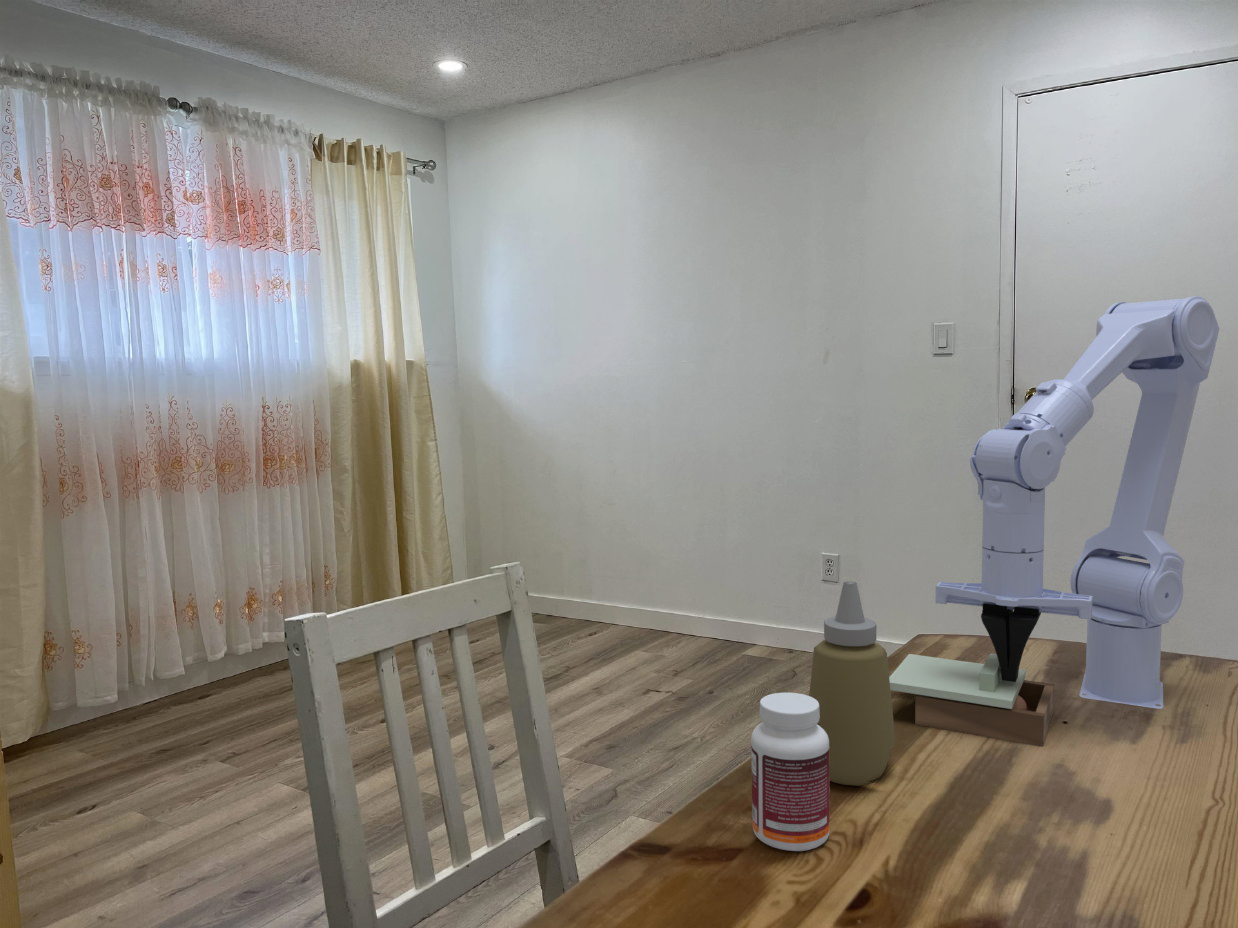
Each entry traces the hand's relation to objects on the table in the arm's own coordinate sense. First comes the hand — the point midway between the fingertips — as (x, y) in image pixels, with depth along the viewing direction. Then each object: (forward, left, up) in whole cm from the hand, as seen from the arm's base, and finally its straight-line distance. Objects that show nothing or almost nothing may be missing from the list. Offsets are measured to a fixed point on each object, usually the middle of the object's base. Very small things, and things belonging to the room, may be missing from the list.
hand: (1009, 678), depth 93 cm
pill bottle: (+31, -12, -6) cm, 34 cm away
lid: (0, -5, -1) cm, 5 cm away
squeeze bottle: (+18, -11, -5) cm, 22 cm away
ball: (0, 0, -5) cm, 5 cm away
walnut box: (0, -2, -5) cm, 6 cm away
